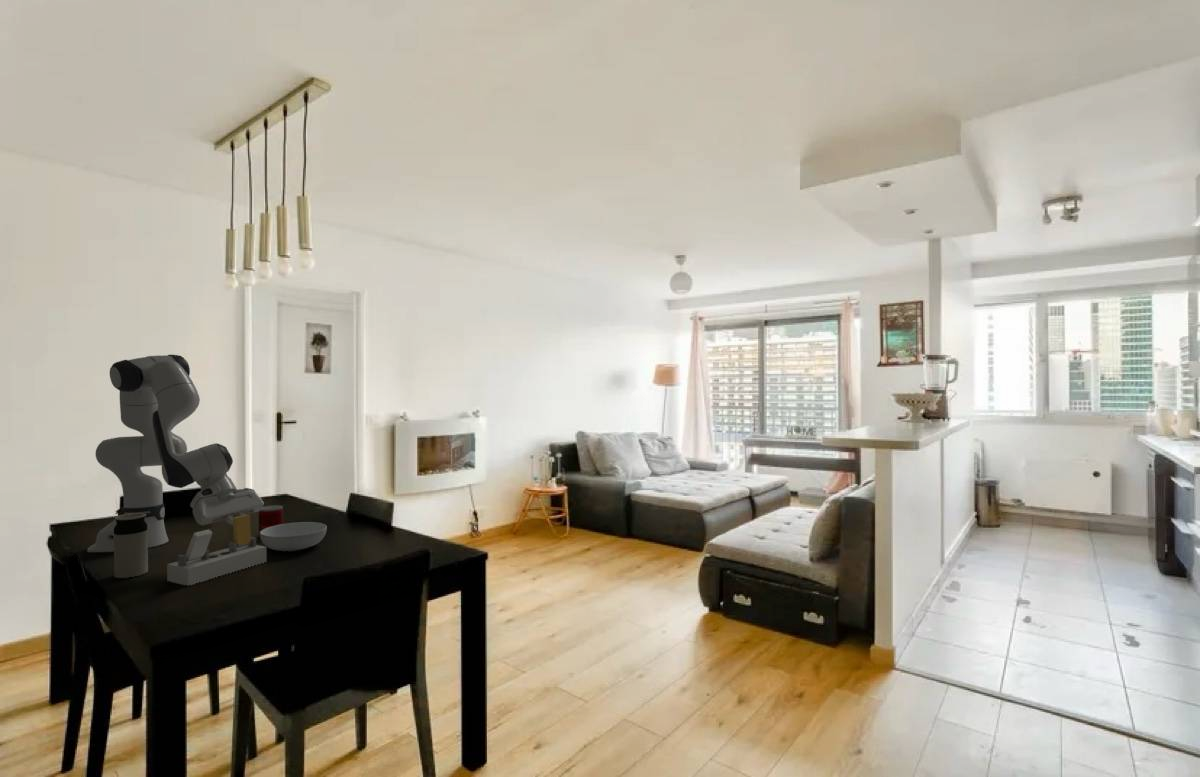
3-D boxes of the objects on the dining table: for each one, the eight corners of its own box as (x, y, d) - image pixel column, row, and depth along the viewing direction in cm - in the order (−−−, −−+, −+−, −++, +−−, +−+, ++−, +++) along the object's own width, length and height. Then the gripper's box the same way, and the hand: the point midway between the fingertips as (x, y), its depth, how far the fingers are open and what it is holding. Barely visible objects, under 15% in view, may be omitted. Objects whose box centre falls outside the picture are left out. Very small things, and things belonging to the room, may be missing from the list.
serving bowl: (299, 558, 193) (299, 538, 193) (245, 554, 198) (245, 534, 197) (339, 541, 214) (339, 523, 214) (289, 538, 218) (289, 520, 218)
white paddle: (182, 560, 172) (192, 533, 170) (200, 555, 176) (210, 529, 174) (186, 563, 171) (196, 536, 169) (203, 558, 176) (213, 532, 174)
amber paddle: (233, 548, 185) (232, 517, 185) (248, 544, 190) (247, 514, 190) (236, 549, 185) (235, 518, 185) (252, 544, 189) (250, 514, 189)
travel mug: (152, 573, 179) (152, 514, 178) (121, 580, 172) (120, 519, 172) (140, 568, 183) (140, 511, 182) (109, 576, 176) (108, 516, 176)
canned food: (287, 535, 222) (287, 506, 222) (265, 540, 215) (265, 510, 215) (276, 532, 226) (275, 504, 226) (254, 537, 219) (254, 508, 219)
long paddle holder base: (167, 581, 172) (167, 554, 171) (246, 558, 193) (245, 534, 193) (188, 586, 167) (188, 558, 167) (266, 562, 189) (266, 538, 189)
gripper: (248, 492, 202) (266, 524, 199) (184, 506, 184) (203, 541, 180) (255, 481, 200) (275, 513, 197) (192, 493, 182) (212, 529, 178)
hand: (240, 526), depth 188 cm, fingers closed, pressing on amber paddle
